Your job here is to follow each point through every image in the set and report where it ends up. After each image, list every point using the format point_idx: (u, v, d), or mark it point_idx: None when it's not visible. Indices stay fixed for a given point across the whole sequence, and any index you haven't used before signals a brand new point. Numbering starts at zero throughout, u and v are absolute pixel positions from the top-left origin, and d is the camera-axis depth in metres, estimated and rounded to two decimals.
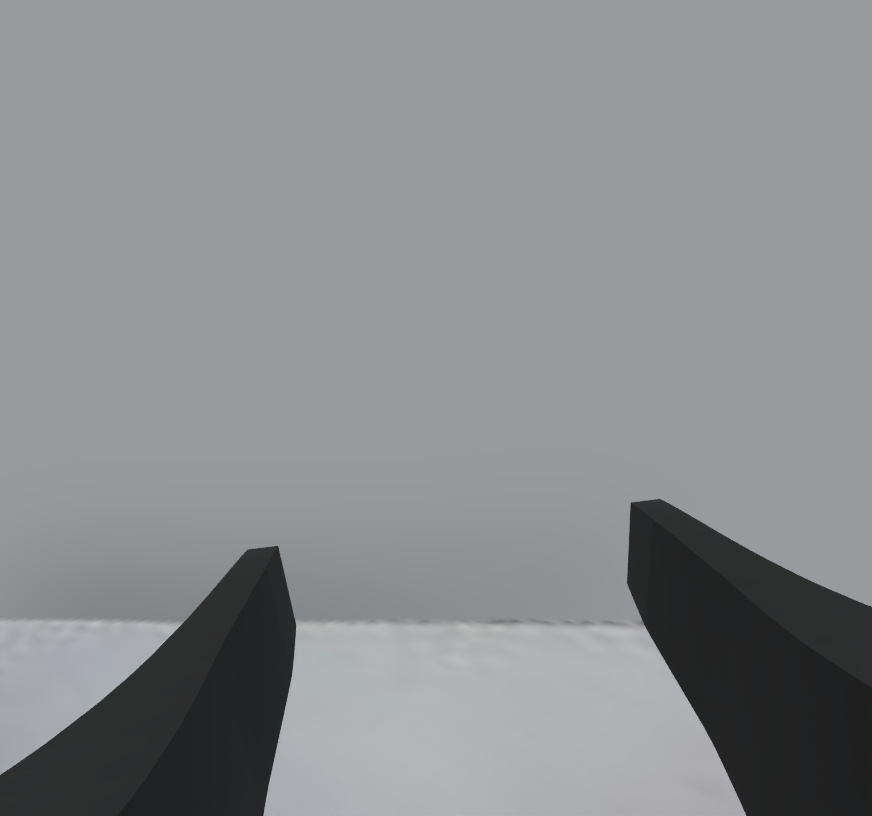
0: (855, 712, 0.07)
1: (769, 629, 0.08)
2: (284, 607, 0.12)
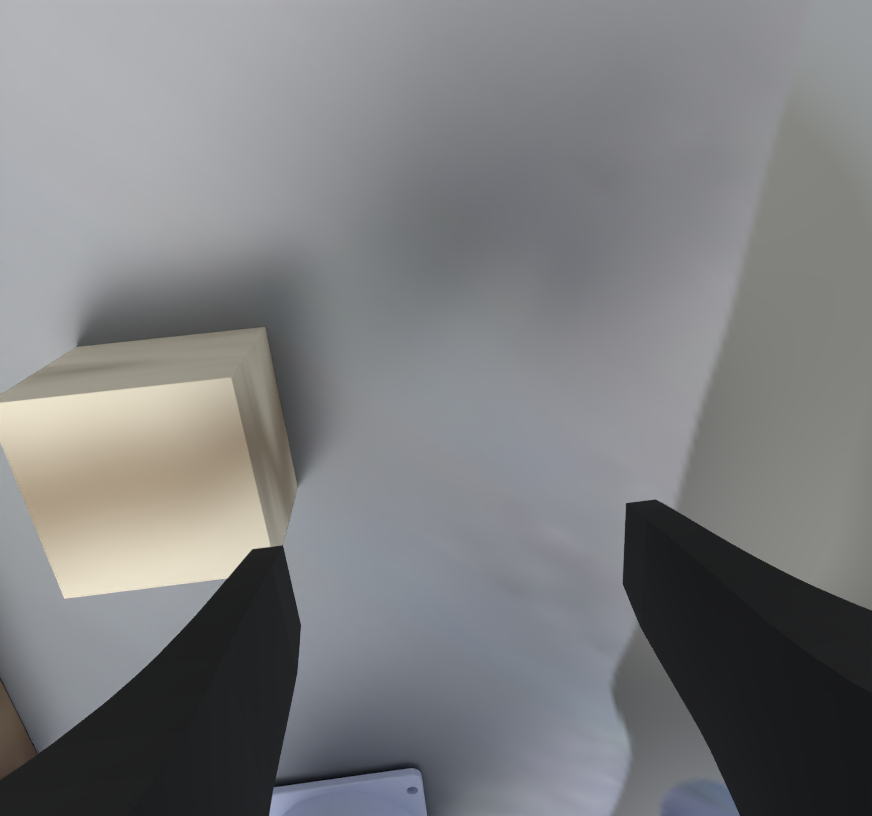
0: (846, 713, 0.07)
1: (762, 629, 0.08)
2: (289, 606, 0.12)
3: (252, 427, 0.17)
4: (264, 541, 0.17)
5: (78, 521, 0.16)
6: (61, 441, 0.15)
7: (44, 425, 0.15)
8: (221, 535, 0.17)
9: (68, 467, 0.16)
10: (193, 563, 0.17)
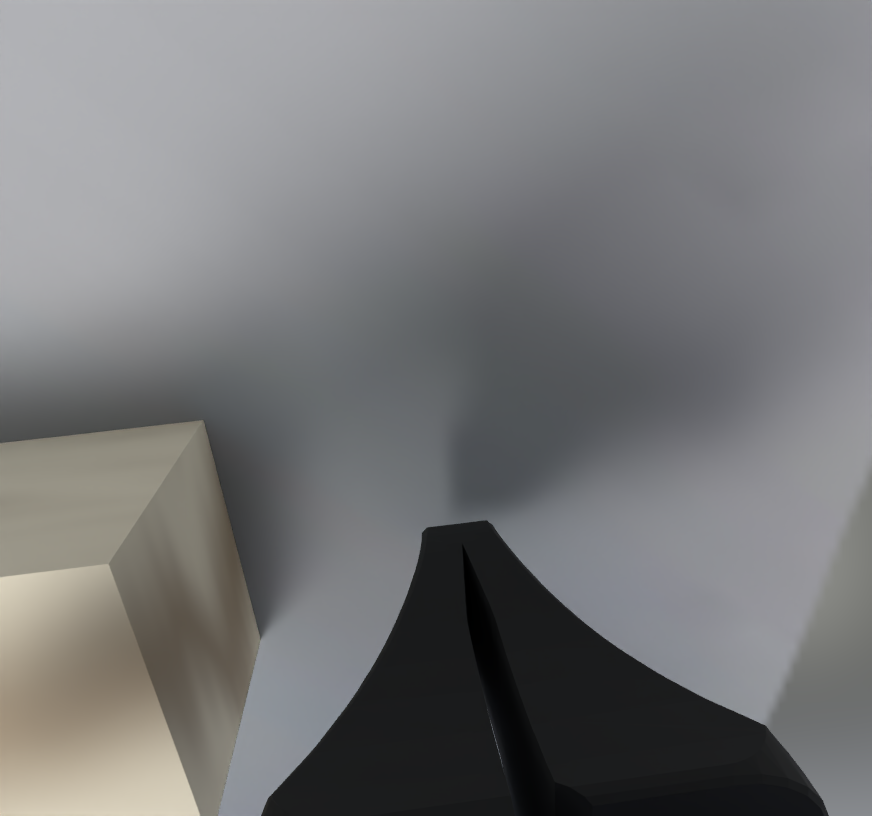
0: (533, 758, 0.06)
1: (506, 663, 0.08)
2: None
3: (164, 620, 0.10)
4: (187, 803, 0.10)
5: None
6: None
7: None
8: (113, 799, 0.10)
9: None
10: None
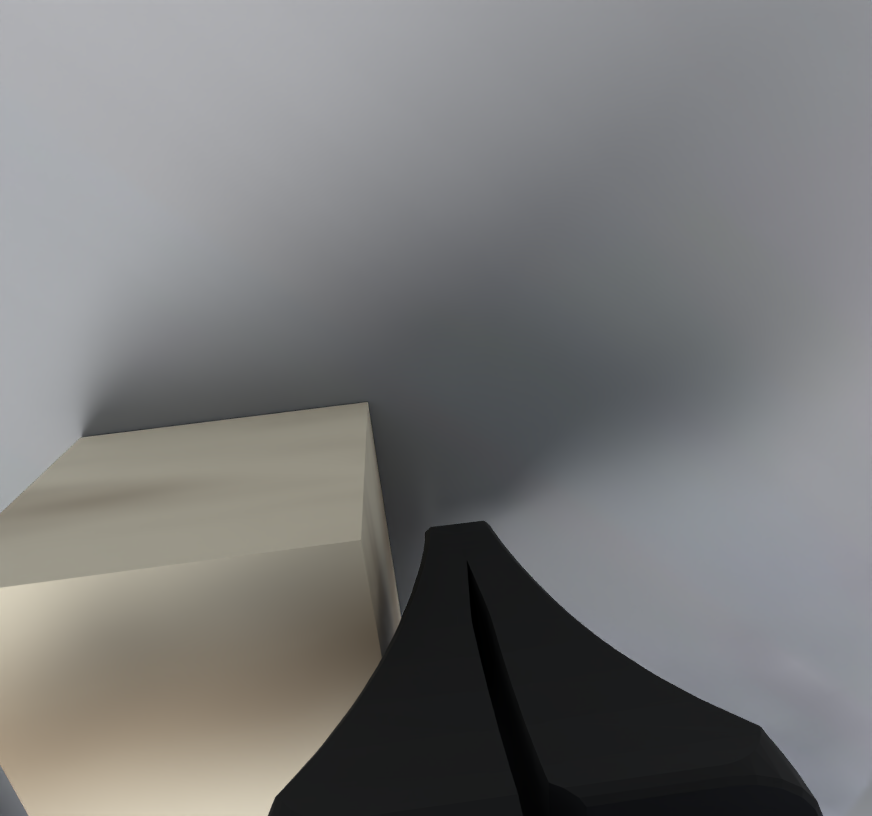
0: (528, 758, 0.06)
1: (502, 664, 0.08)
2: None
3: (378, 599, 0.10)
4: None
5: (85, 771, 0.09)
6: (50, 654, 0.09)
7: (20, 629, 0.08)
8: None
9: (66, 692, 0.09)
10: None
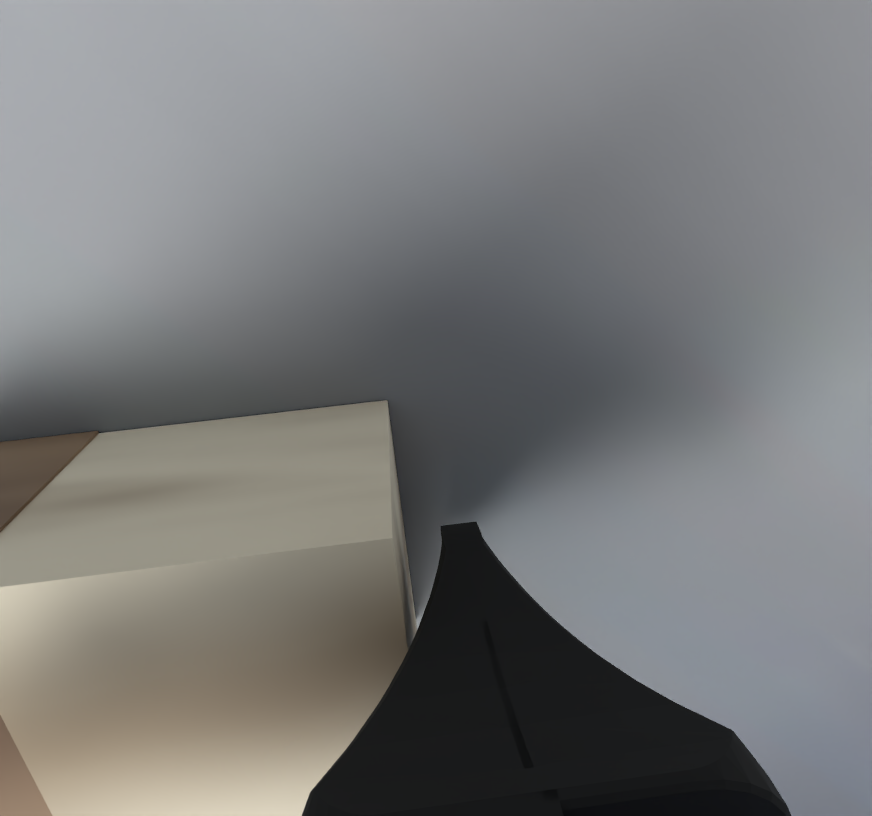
0: None
1: (481, 667, 0.08)
2: None
3: (403, 597, 0.10)
4: None
5: (108, 767, 0.09)
6: (79, 650, 0.09)
7: (49, 625, 0.08)
8: None
9: (93, 688, 0.09)
10: None
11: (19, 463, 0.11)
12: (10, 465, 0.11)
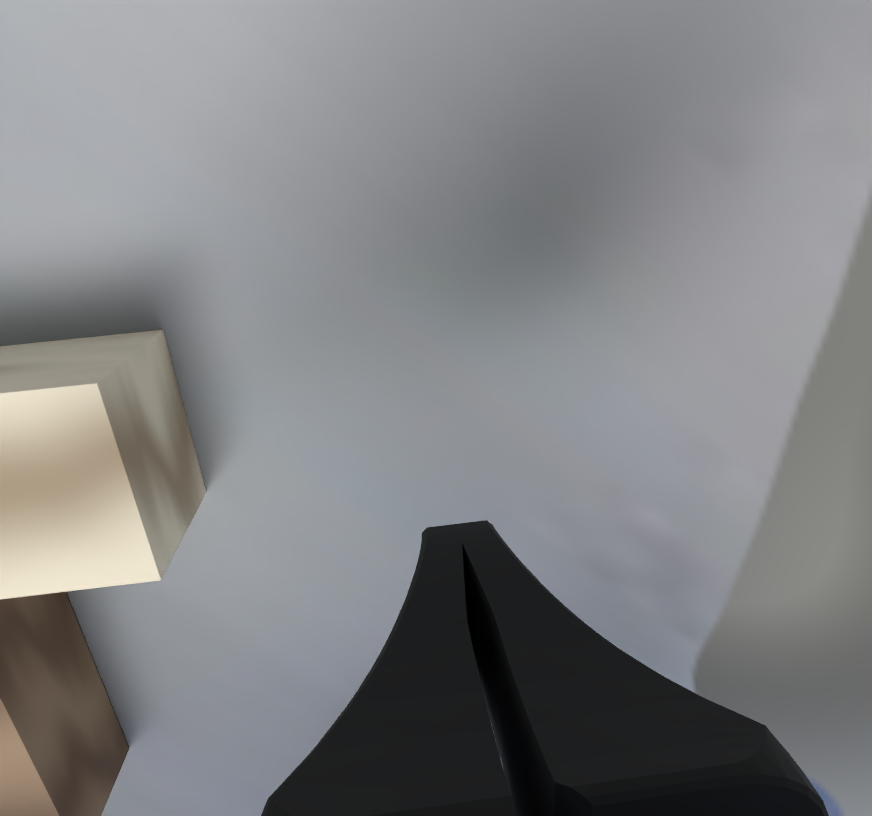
0: (533, 757, 0.06)
1: (506, 664, 0.08)
2: None
3: (131, 433, 0.16)
4: (145, 549, 0.17)
5: None
6: None
7: None
8: (101, 542, 0.17)
9: None
10: (73, 571, 0.17)
11: None
12: None
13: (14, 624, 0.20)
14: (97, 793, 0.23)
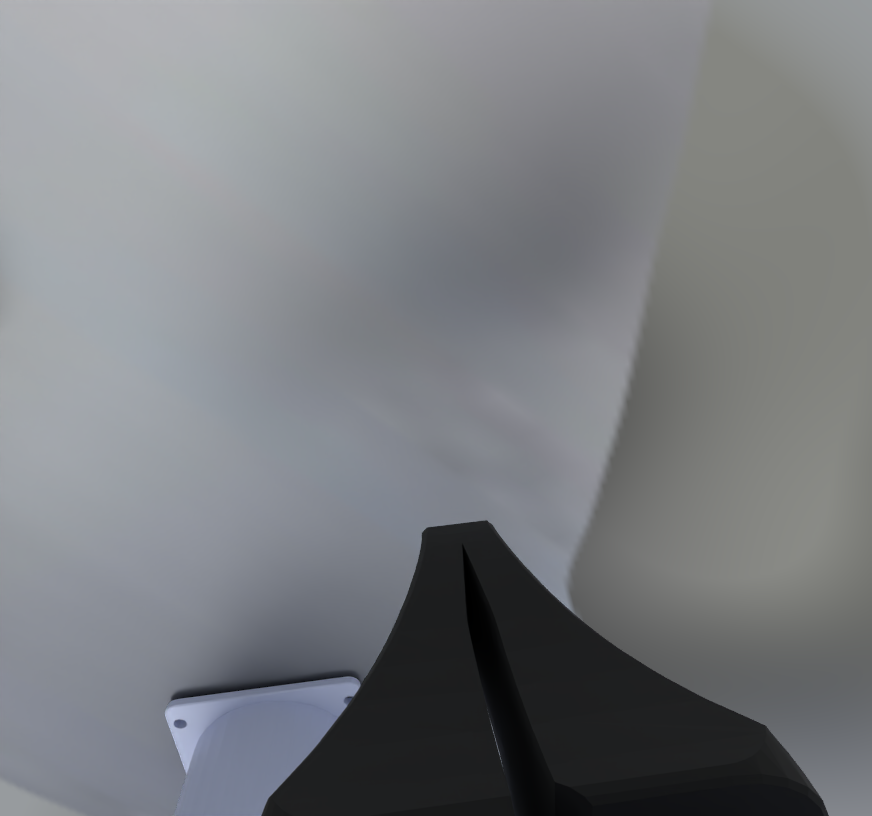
0: (533, 758, 0.06)
1: (506, 664, 0.08)
2: None
3: None
4: None
5: None
6: None
7: None
8: None
9: None
10: None
11: None
12: None
13: None
14: None
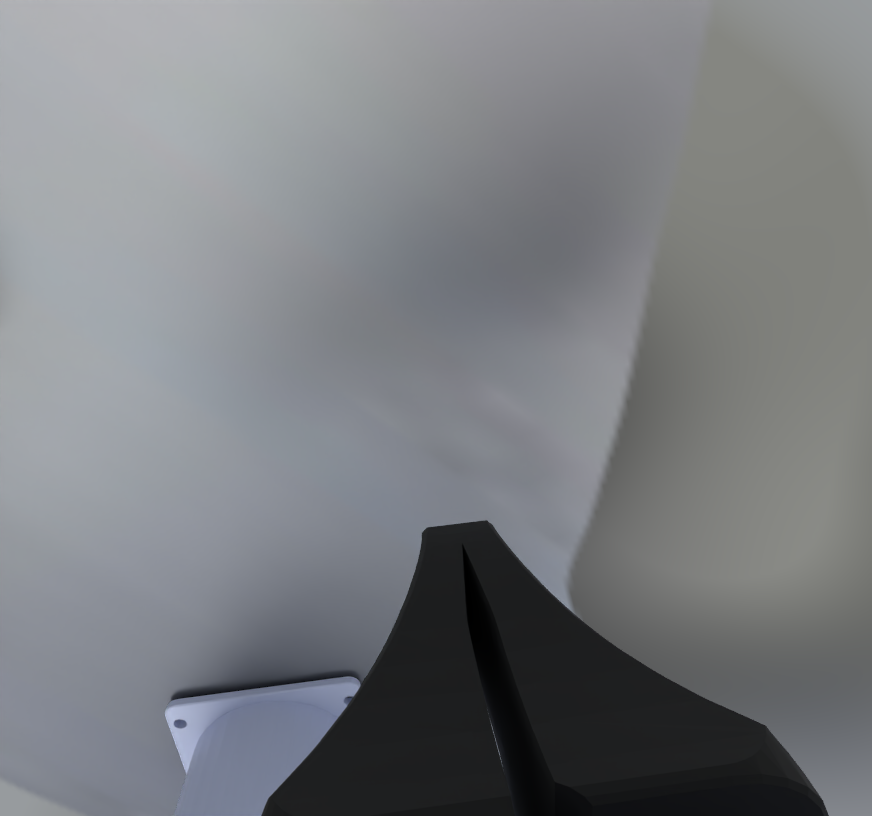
0: (533, 758, 0.06)
1: (506, 664, 0.08)
2: None
3: None
4: None
5: None
6: None
7: None
8: None
9: None
10: None
11: None
12: None
13: None
14: None
